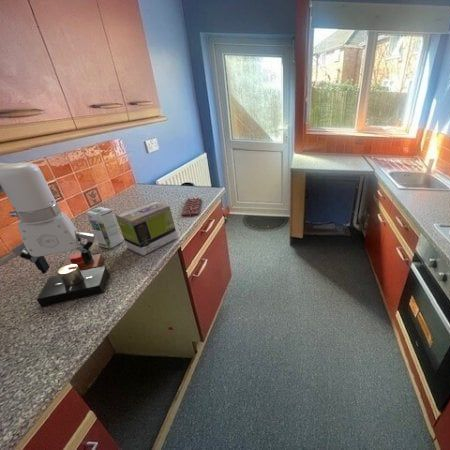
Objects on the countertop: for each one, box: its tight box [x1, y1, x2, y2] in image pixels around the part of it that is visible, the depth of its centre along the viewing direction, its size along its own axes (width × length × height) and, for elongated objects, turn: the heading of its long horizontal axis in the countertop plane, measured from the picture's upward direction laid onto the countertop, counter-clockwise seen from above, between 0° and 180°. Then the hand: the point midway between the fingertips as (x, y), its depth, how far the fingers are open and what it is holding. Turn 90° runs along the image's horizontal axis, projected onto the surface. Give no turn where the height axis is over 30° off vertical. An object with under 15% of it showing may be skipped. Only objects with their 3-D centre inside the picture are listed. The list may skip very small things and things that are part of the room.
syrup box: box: [86, 206, 124, 250], centre depth 94 cm, size 6×6×14 cm
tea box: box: [115, 200, 178, 256], centre depth 95 cm, size 15×10×15 cm, turn 152°
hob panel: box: [36, 265, 109, 308], centre depth 75 cm, size 14×10×3 cm
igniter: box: [57, 253, 104, 275], centre depth 83 cm, size 10×8×4 cm
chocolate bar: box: [181, 197, 202, 217], centre depth 128 cm, size 7×19×2 cm, turn 15°
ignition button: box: [69, 251, 83, 263], centre depth 82 cm, size 4×4×2 cm
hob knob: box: [57, 264, 83, 286], centre depth 73 cm, size 4×4×5 cm
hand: (68, 266), depth 71 cm, fingers open, 9 cm apart
